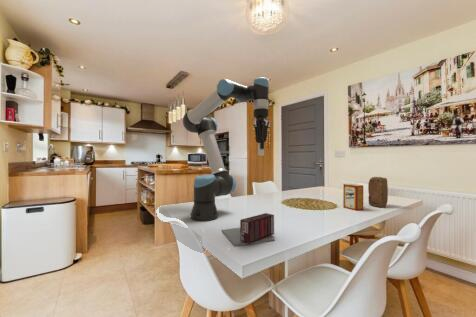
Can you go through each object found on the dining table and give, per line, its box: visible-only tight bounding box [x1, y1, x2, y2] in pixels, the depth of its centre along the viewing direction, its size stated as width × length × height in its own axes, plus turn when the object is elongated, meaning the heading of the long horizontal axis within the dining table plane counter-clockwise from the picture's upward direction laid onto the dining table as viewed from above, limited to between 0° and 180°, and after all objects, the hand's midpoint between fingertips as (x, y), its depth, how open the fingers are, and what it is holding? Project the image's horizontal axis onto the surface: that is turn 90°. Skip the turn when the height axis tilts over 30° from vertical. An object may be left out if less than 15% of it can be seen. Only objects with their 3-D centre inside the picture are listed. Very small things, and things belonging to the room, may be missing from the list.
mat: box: [221, 227, 276, 247], centre depth 93 cm, size 18×17×1 cm
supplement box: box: [239, 212, 275, 245], centre depth 89 cm, size 9×5×16 cm
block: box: [367, 176, 389, 208], centre depth 150 cm, size 11×8×20 cm
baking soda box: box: [342, 183, 364, 212], centre depth 142 cm, size 10×6×16 cm
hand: (260, 155), depth 110 cm, fingers closed
